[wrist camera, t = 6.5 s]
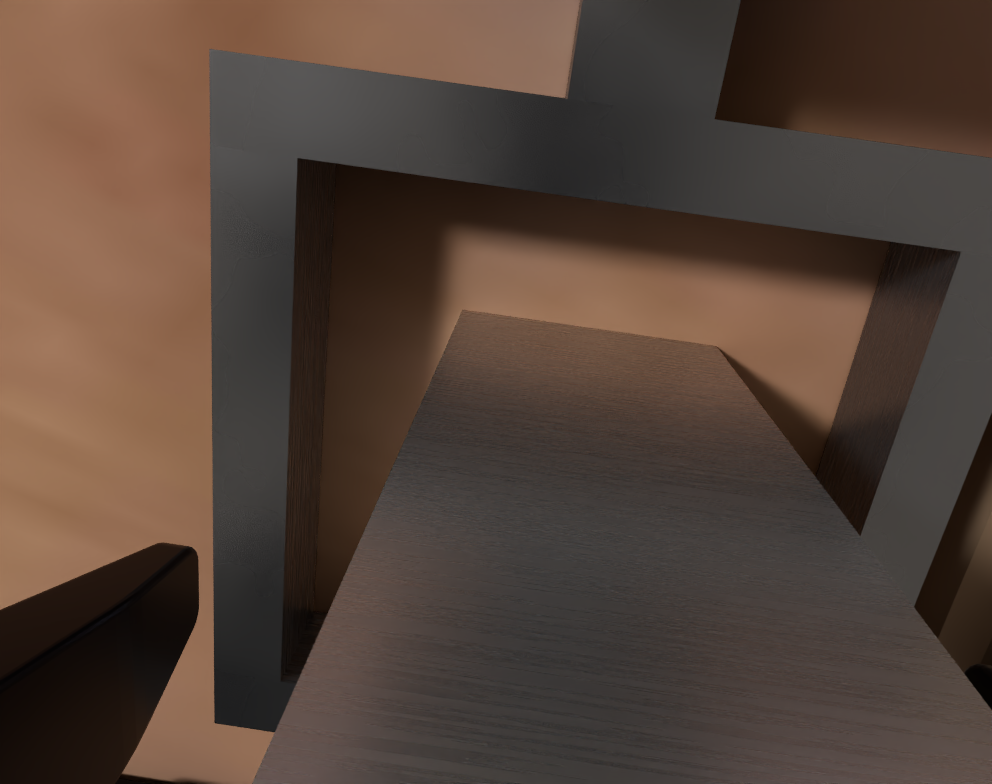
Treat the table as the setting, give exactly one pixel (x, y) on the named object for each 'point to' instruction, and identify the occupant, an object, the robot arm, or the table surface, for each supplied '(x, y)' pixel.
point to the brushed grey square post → (616, 594)
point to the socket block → (584, 174)
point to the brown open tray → (964, 569)
